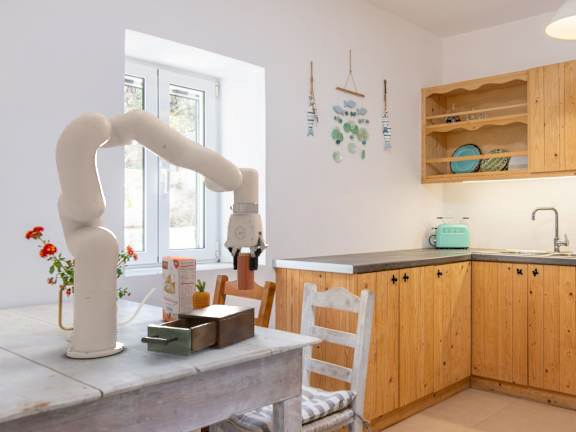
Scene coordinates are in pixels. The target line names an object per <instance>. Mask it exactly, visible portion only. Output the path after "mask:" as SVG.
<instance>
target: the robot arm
mask: <svg viewBox="0 0 576 432" xmlns="http://www.w3.org/2000/svg"><path fill="white" fill-rule="evenodd" d="M137 144H138V145H140V146H141V147H143V148H144V149H146V150H147V151H148V152H149V151H150V152H151V154H154V155H155V156H157V157H159V158H160V159H161V160H164V161H165V162H166V163H168V164H170V165H172V166H175V167H178V168H183V169H185V170H186V169H187V170H190V171H193V172H195V173H197V174H200V175H202V176H203V184H204V186H205V188H207V189H208V190H209V191H211V192H214V193H225V192H226V193H227V192H232V205H230V206H229V209H230V210H231V211H232V213H230V214H229V218H228V223H227V224H228V225H227V233H226V236H227V237H226V240H225V242H224V243H223V245H224V247H225V248H226V249H227V250H228V252H229V254H230V255H231V257H232V266H233V270H234V271H237V256H238V252H242V249H243V248H246V249H247V248H248V249H249V252H251V256H252V257H250V271H254V272H255V271H258V270H259V257H261V254H262V253H263V252H264V251H265V250H266V249H267V248H268V245H269V244H268V243H267V242H266V241H265V239H264V230H263V222H262V221H263V220H262V216H261V214H260V212H259V211H260V210H259V209H260V208H259V205H260V204H259V203H260V202H259V194H260V193H259V187H260V186H259V185H260V184H259V182H260V181H259V178H260V177H259V176H260V175H259V171H258V169H256V168H252V167H238V166H237V165H236V164H235V163H233V162H231V161H230V160H228V159H227V158H226V157H224V156H223V155H222V154H220V153H218V152H216V151H215V150H212V149H211V148H208V147H207V146H204V145H202V144H200V143H199V142H196V141H194V140H191V139H189V138H188V137H187V136H185V135H183V134H182V133H181V132H179V131H177V130H176V129H175V128H174V127H171V126H170V125H169V124H167V123H165V121H163V120H161V119H160V118H158V117H157V116H155V115H154V114H152V113H151V112H149V111H147V110H145V109H141V108H135V109H132V110H129V111H127V112H125V113H121V114H114V115H105V114H103V113H101V112H98V111H86V112H83V113H81V114H79V115H78V116H76V117H75V118H74V119H72V120H71V121H70V122H69V123H68V124H67V125H65V127H64V129H63V130H62V131H61V134H60V135H59V138H58V140H57V142H56V147H55V165H56V170H57V175H58V179H59V185H60V188H61V189H60V190H61V193H60V195H59V196H58V199H57V211H58V216H59V219H60V220H59V221H60V225H61V228H62V232H63V236H64V240H65V243H66V246H67V249H68V252H69V254H71V256H72V257H73V258H74V267H73V268H74V269H73V332H72V333H71V334H70V335H68V336H66V337H65V339H64V340H65V342H66V343H70V344H71V345H70V346H71V347H69V348H68V349H66V351H65V352H66V353H65V355H66V356H67V357H68V358H72V359H93V358H95V359H96V358H101V357H107V356H111V355H116V354H119V353H120V352H122V351H123V350H124V344H123V343H122V342H118V341H117V339H118V338H117V332H118V329H117V326H118V325H117V323H118V320H117V319H118V316H117V315H118V313H117V311H118V309H117V307H118V304H117V302H118V299H117V298H118V296H117V295H118V290H117V289H118V288H117V286H118V285H117V283H118V282H117V281H118V279H117V278H118V277H117V276H118V265H119V264H118V263H119V257H120V256H119V255H120V246H119V241H118V239H117V237H116V236H115V234H114V233H113V232H112V231H111V230H109V229H108V228H105V226H104V221H103V218H102V216H103V214H104V213H105V210H106V206H107V205H106V204H107V203H106V199H105V198H106V197H105V196H104V191H103V188H102V184H101V180H100V176H99V172H98V171H99V170H98V166H97V153H98V151H99V149H108V148H109V149H110V148H117V147H124V146H131V145H137Z"/></svg>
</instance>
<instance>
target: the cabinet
mask: <svg viewBox="0 0 576 432" xmlns="http://www.w3.org/2000/svg"><path fill="white" fill-rule="evenodd" d="M255 313H256V312H255V307H252V306H240V305H238V306H237V305H228V304H227V305H226V304H212V305H210V306H208V307H204V308H200V309H196V310H192V311H188V312H184V313H180V314H178V319H181V318H185V317H186V318H196V319H207V320H218V321H217V343H216V344H213V345H210V346H208V347H207V348H208V349H209V348H210V349H218V350H220V349H224V348H225V347H228V346H231V345H234V344H236V343H238V342H242V341H245V340H247V339H249V338H252V337H255V315H256V314H255Z"/></svg>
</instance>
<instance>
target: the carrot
mask: <svg viewBox="0 0 576 432" xmlns="http://www.w3.org/2000/svg"><path fill="white" fill-rule="evenodd" d="M196 282H197V283H196V284H195V286H196V289H197V290H198V291H196V292H195V293H194V294H193V310H196V309H200V308H204V307H208V306H211V294H210V292H209V291H205V289H206V284H207V282H206V281H204V280H203V281H201V279H196Z"/></svg>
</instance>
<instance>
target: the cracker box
mask: <svg viewBox="0 0 576 432" xmlns="http://www.w3.org/2000/svg"><path fill="white" fill-rule="evenodd" d="M161 268H162V269H161V270H162V271H161V275H162V276H161V277H162V278H161V280H162V281H161V282H162V285H161V287H162V289H161V290H162V295H161V296H162V320H163V321H164V322H170V321H174V320H178V314H180V313H184V312H188V311H192V310H193V294H194V293H195V292H197V287H196V286H195V284H197V259H196V258H192V257H187V256H182V255H167V256H162V258H161Z"/></svg>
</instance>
